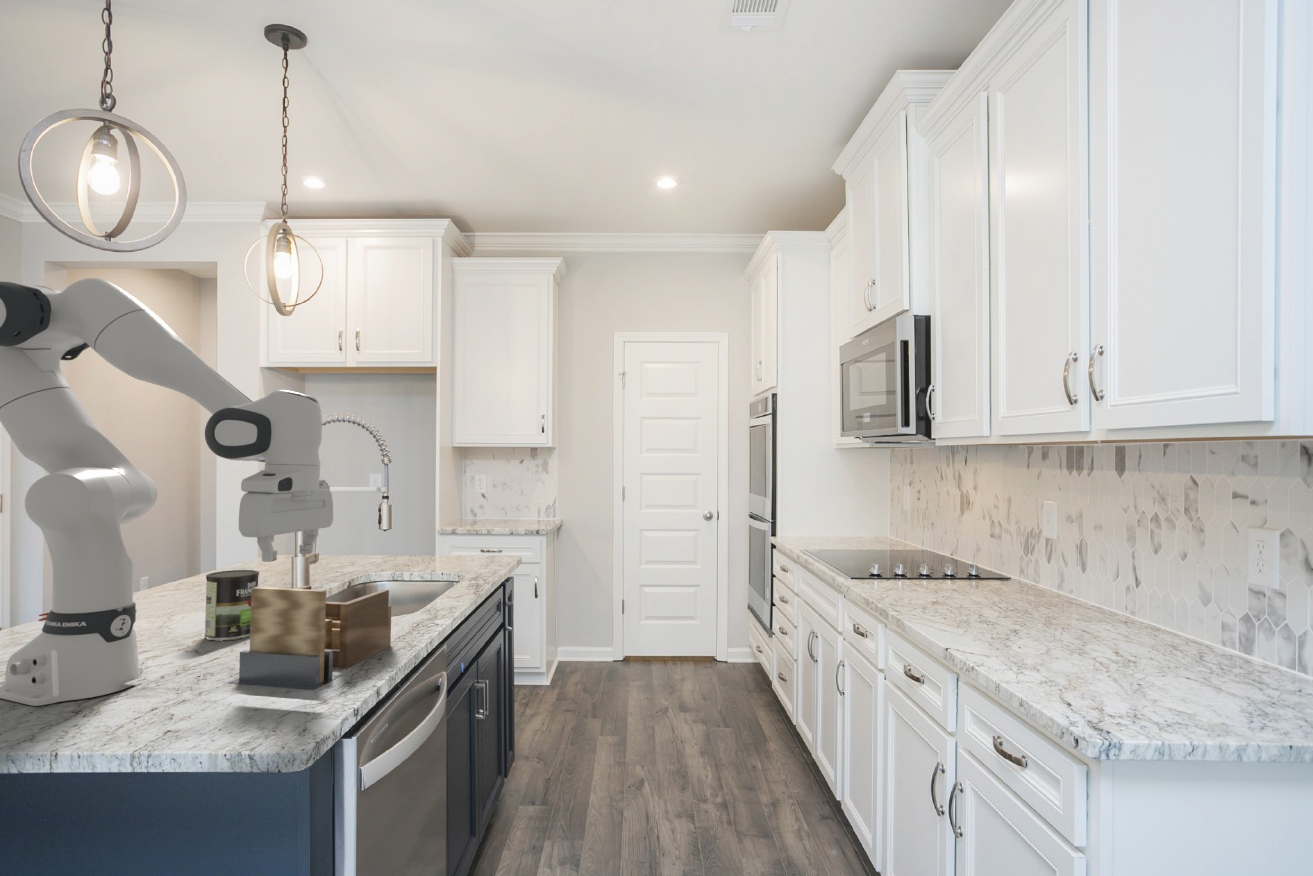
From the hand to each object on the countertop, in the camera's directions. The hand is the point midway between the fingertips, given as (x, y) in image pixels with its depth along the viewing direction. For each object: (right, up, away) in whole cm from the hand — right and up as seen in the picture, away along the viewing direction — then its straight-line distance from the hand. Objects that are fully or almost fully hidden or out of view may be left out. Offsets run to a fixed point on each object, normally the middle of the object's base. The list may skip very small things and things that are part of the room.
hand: (288, 557), depth 122 cm
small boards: (-1, -22, +12) cm, 25 cm away
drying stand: (0, -23, 0) cm, 23 cm away
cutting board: (0, -22, -1) cm, 22 cm away
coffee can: (-31, -24, +33) cm, 51 cm away
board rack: (-1, -24, +15) cm, 28 cm away
